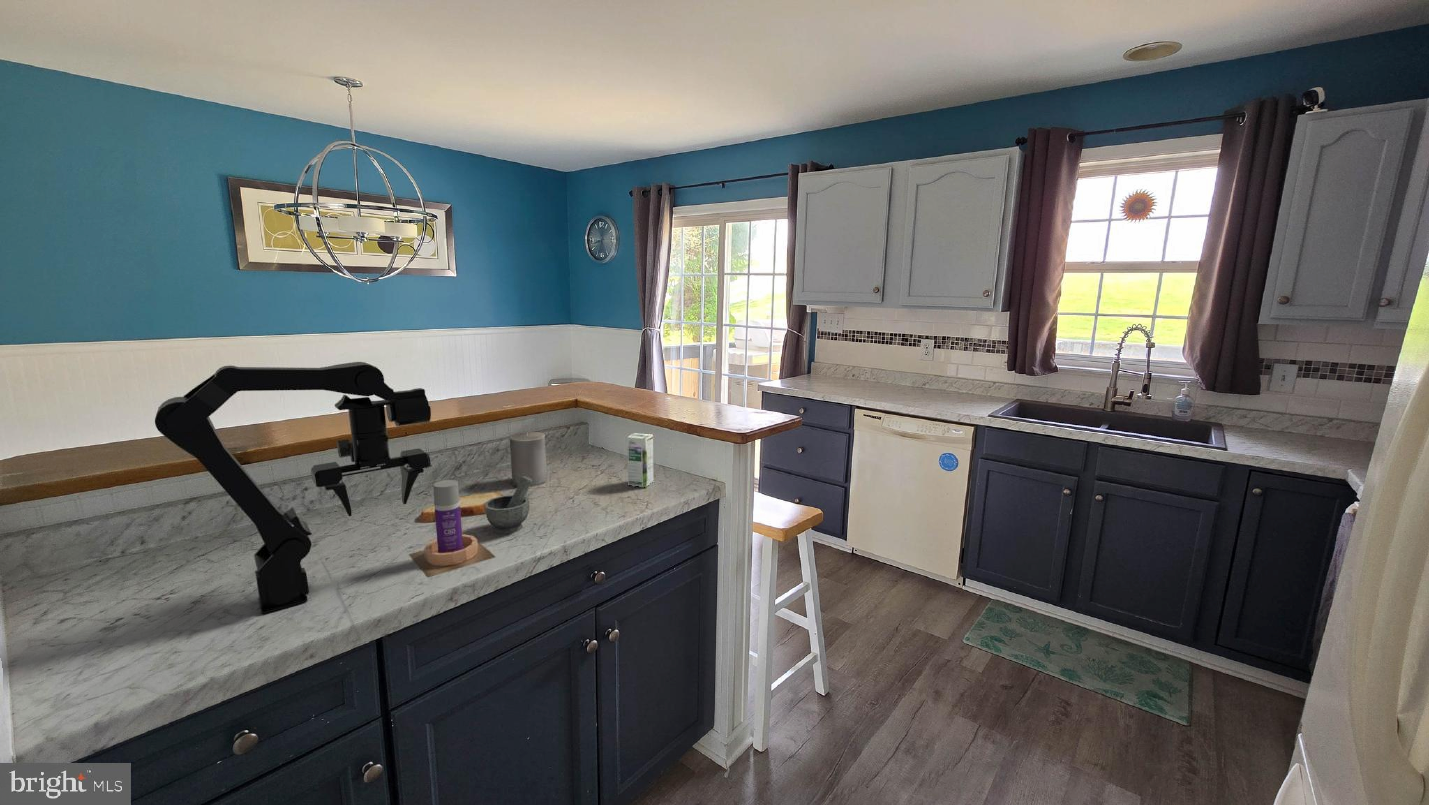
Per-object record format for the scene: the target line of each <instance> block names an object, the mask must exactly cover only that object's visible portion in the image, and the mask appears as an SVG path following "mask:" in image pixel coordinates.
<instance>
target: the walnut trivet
mask: <svg viewBox="0 0 1429 805" xmlns="http://www.w3.org/2000/svg"><path fill="white" fill-rule="evenodd" d="M477 542H478V549H477V554H476V556H475V557H473V558H472V559H470V560H469V561H466V562H464V563H461V564H457V565H452V566H433V565H430V564H428V563H427V561H426V558H425V552H424V549H423V550H419V551H416V552H412V553H409V554H408V555H409V556H410V557H411V559H412V560H413V561H414V562H415V564H416V565H417V566H418V567H419V568H420V570H421V571H422V572H423V574H424V575H425V576H426V577H427V578H430V577H433V576H438V575H440V574H444V573H447V572H451V571H454V570H458V569H461V568H464V567H467V566H470V565H474V564H477V563H481V562H484V561H487V560H491V559H494V558H496V556H495V555H494V554H493V553H492V552H491V551H489V549H488V548H486V547H485V546H484V545H483V544H481V542H479V540H477Z"/></svg>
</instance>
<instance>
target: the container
mask: <svg viewBox="0 0 1429 805" xmlns="http://www.w3.org/2000/svg"><path fill="white" fill-rule="evenodd" d="M459 492H460V491H459V482H458V480H456V479H455V480H454V479H444V480H439V481H436V482H434V483H433V500H434V501H433V504H434V505H433V506H434V507H435V520H436V522H435V530H436V532H435V533H436V539H437V544H438V553H449V552H455V551H459V550H462V549H463V540H462V534H463V528H462V517H461V512H460V501H459V498H460V493H459Z"/></svg>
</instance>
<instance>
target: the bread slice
mask: <svg viewBox="0 0 1429 805" xmlns="http://www.w3.org/2000/svg"><path fill="white" fill-rule="evenodd" d="M500 496H504V494H502V493H499V492H496V491H494V492H492V491H491V492H486V493H475V494H471V495H468V496H467V495H466V496H462V497H461V496H459V501H460V512H461V518H464V517H472V516H473V517H474V516H478V515H479V516H481V515H486V512H485V506H484V503H485V502H487V501H489V500H490V499H492V498H496V497H500ZM418 521H419V522H420V523H436V520H435V507H434V505H432V506H429V507H426V508H425V509H423V510H422V511H421V512H420V516H419V518H418Z"/></svg>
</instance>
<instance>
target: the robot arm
mask: <svg viewBox="0 0 1429 805" xmlns="http://www.w3.org/2000/svg"><path fill="white" fill-rule="evenodd" d="M248 391H249V392H251V391H252V392H256V391H257V392H259V391H260V392H262V391H263V392H265V391H271V392H272V391H275V392H277V391H327V392H335V393H338V394H339V393H340V394H343V395H342V397H341V398H340V400H338V401H337V402H336V403H334V407H335V408H336V409H337V410H338V411H346V410H347V411H348V418H349V419H348V420H349V427H350V433H351V434H350V436H351V442H350V439H349V438H348V439H340V440H337V441H336V445H337V447H336V448H337V454H338V458H340V459H341V458H347V457H350V461H351V462H352V464H346V465H341V466H340V465H339V463H337V461H332V462H326V463H321V464H315V465H313V466H312V467H311V469H310V475H311V480H312V483H313V484H314V485H315V487H316V488H324V489H325V490H326V491H333V492H334V493H335V494H336V496H337V497H338V499H339V501H340V503H341V504H342V506H343V509H344V510H345V512H346V513H347V516H348V517H352V506H351V503H350V499H349V495H348V494H349V493H348V491H347V486H346V483H345V482H344V481H343V478H344V477H348V476H353V475H359V474H364V473H372V472H377V471H381V470H387V469H393V468H398V467H399V468H400V474H401V501H402V504H403V505H407V503H408V500H409V497H410V494H411V491H412V488H413V487H414V484H415V483H416V481H417V480H416V479H417V478H418V476H419V475H420V474H421V473H424V472H425V469H427V468H430V467H431V465H432V464H431V457H430V454H429V453H428V452H426V451H424V450H423V449H421V448H418V447H417V448H413V449H407V450H402V451H400V456H394V457H391V456H390V450H389V449H390V448H389V436H388V429H387V420H388V422H390V423H392V422H394V425H395V426H396V427H402V426H409V425H417V424H423V423H430V421H431V418H432V409H431V406H430V405H429V401H428V400H429V399H428V397H427V395H426V390H425V389H424V388H421V387H420V388H418V387H417V388H413V389H409V390H399V391H397V390H396V391H394V388H391V387H389V385H388V384H387V383H386V382H385V376H384V374H383V372H382V371H381V370H380V369H379V368H378V367H377V366H374V365H372V364H370V363H367V362H365V361H352V362H345V363H340V364H334V365H329V366H322V367H279V366H278V367H275V366H273V367H271V366H269V367H268V366H267V367H265V366H263V367H262V366H257V367H255V366H253V367H252V366H235V365H224V366H222V367H219V368H218V369H217V370H216V371H215V373H213V374H212V375H211V376H209V377H208V378H206V379H205V380H204V381H202V382H201V383H199V384H198V385H196V386H195V387H194V388H192V389H191V390H189V391H188V392H187V393H186V394H184V395H183V396H175V397H172V398H168V399H167V400H165V401H164V402H162V403H161V404H160V405H159V407H158V409H157V412H156V415H155V418H154V425H155V427H156V429H157V431H158V432H159V433H160V434H161V435H163V436H164V437H165V438H166V439H168V440H169V441H171V442H172V443H173V444H174V445H176V446H177V447H178V448H180V449H181V450H183V451H184V452H186V453H188V454H189V455H191V456H193V457H194V458H195V459H196V460H198V461H199V463H201V465H203V467H204V468H205V470H206V471H207V472H208V473H209V474H210V475H211V476H212V477H213V478H214V479H215V481H216V482H217V483H218V484H219V485H220V487H221V488H222V489H223V490H224V491H225V492H226V494H228V496H229V497H230V498H231V499H232V500H233V501H234V502H235V503H236V505H237V506H239V508H240V509H241V510H242V511H243V512H244V514H245V515H246V516H247V517H248V519H250V521H251V522H252V523H253V524H254V525H255V527H256V529H257V532H258V533H259V535H260V537H261V539H262V541H263V543H264V544H262V546H261V547H260V548H259V549H258V550H257V551H256V552H255V553H254V554H253V557H254V562H255V567H256V570H255V571H254V573H255V579H256V586H257V591H258V592H257V594H258V598H257V600H258V605H259V610H260V614H262V615H265V614H268V613H272V612H276V611H279V610H282V609H285V608H289V607H293V606H296V605H299V604H300V605H301V604H303V603H306V602H308V601H309V600H308V599H309V598H308V596H307V595H309V593H310V590H309V583H308V582H309V581H308V574H307V571H306V568H305V567H302V565H301V562H302V560H303V559H304V558H306V557H307V556H308V554H309V553H310V552H311V549H312V545H313V544H312V541H311V538H310V537H309V536H311V535H312V532H311V530H310V528H309V526H308V524H307V522H306V521H304V520H302V519H301V518H300V517H299V516H298V514H297V512H296V510H295V508H294V507H292V506H291V508H289V509H288V510H287V511H284V510H283V509H281V508H280V507H278V506H277V505H275V504H274V503H273V501H272V500H271V499H270V498H269V496H268V495H267V493H265V491H264V490H263V489H262V488H261V487H260V486H259V484H258V483H257V482H256V481H255V480H254V479H253V477H252V476H251V475H250V473H249V472H248V471H247V470H246V469H245V468H244V466H242V464H241V463H240V462H239V461H238V460H237V458H236V457H235V456H234V454H232V452H231V451H230V450H229V449H228V448H227V447H226V444H224V443H223V441H222V439H221V438H220V435H219V433H218V432H217V429H216V428H215V426H214V423H213V421H212V420H211V418H210V416H211V415H213V414H214V413H215V412H216V411H217V410H219V409H220V408H221V407H222V406H223V405H224V404H225V403H226V402H228V401H229V399H231V397H233V396H234V395H235V394H237V393H238V392H248ZM348 395H352V396H360V397H356V398H350V397H349V396H348ZM371 396H375V397H378V398H380V399H381V400H372V399H370V397H371ZM385 410H386V411H385ZM386 418H387V420H386Z"/></svg>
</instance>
